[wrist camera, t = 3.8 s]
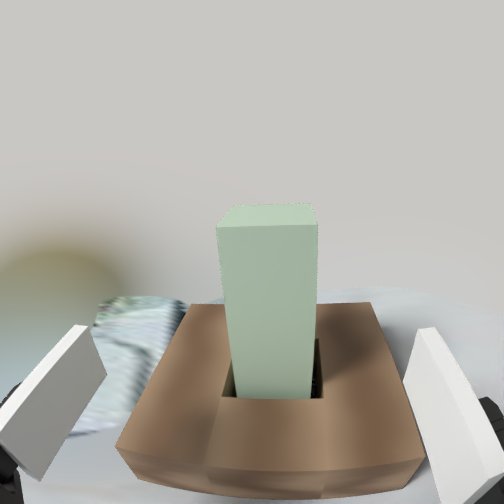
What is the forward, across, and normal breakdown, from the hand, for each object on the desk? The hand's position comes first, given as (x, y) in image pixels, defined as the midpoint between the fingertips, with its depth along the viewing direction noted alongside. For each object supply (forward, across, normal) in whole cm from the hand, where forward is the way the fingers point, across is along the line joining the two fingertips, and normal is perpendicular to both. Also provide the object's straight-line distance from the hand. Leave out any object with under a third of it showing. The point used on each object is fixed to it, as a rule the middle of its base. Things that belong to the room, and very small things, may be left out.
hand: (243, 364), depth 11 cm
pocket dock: (+7, +1, -10) cm, 12 cm away
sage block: (+7, +1, -10) cm, 12 cm away
